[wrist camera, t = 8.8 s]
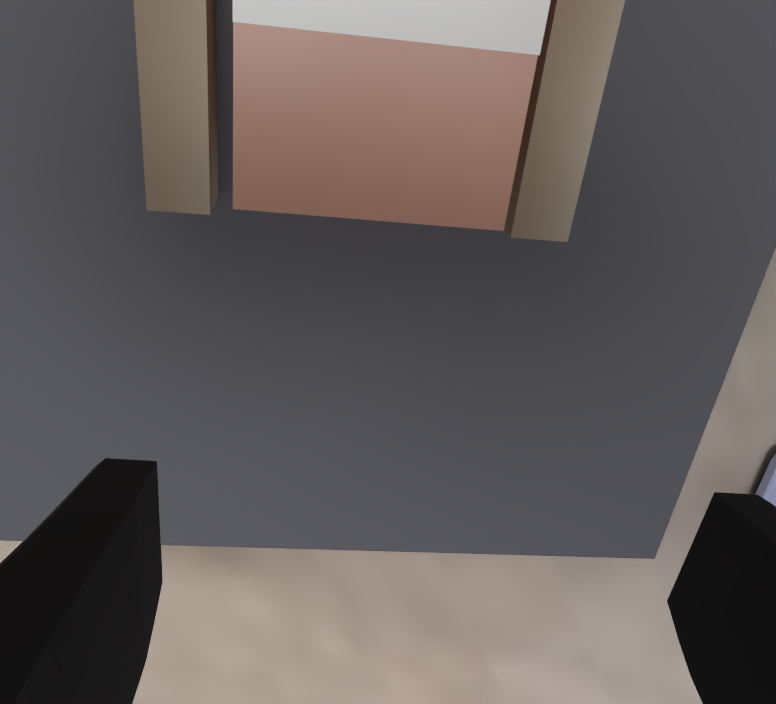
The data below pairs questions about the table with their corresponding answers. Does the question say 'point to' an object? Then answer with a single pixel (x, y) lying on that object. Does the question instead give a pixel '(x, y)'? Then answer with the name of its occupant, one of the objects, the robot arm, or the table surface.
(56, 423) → the mat
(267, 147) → the card box
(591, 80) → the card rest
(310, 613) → the table surface
